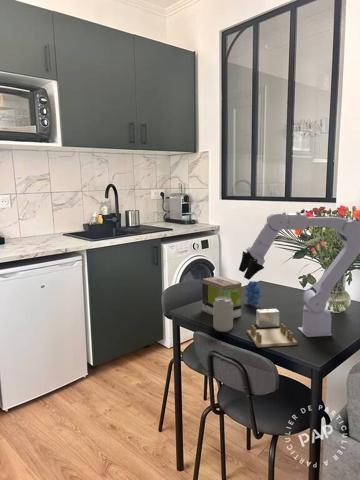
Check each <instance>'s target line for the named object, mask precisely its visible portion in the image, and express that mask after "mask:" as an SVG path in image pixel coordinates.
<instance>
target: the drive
mask: <svg viewBox="0 0 360 480" xmlns="http://www.w3.org/2000/svg"><path fill="white" fill-rule="evenodd" d="M255 313H256V314H255V315H256V316H255V317H256V318H255V320H256V322H255V324H256V326H257V327H258V328H259V329H260V328H273V327H274V328H275V327H280V311H279V310H278V309H277V308H267V309H266V308H264V309H262V308H261V309H256V312H255Z"/></svg>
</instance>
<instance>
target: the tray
mask: <svg viewBox="0 0 360 480" xmlns="http://www.w3.org/2000/svg"><path fill="white" fill-rule="evenodd" d="M291 331H292V330H290V329H287V326H286V325H285V324H284V323H279V328H264V329H263V328H262V329H257V327H255V325H253V324H250V329H249V330H248V329H247V332H246V333H247V335H248V336H249V337H250V339H251V340H252V342H253V343H254V344H255V346H256V347H257V348H268V347H282V346H283V347H284V346H297V345H298V341H297V340H296V339H295V338H294V333H293V332H291Z"/></svg>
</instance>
